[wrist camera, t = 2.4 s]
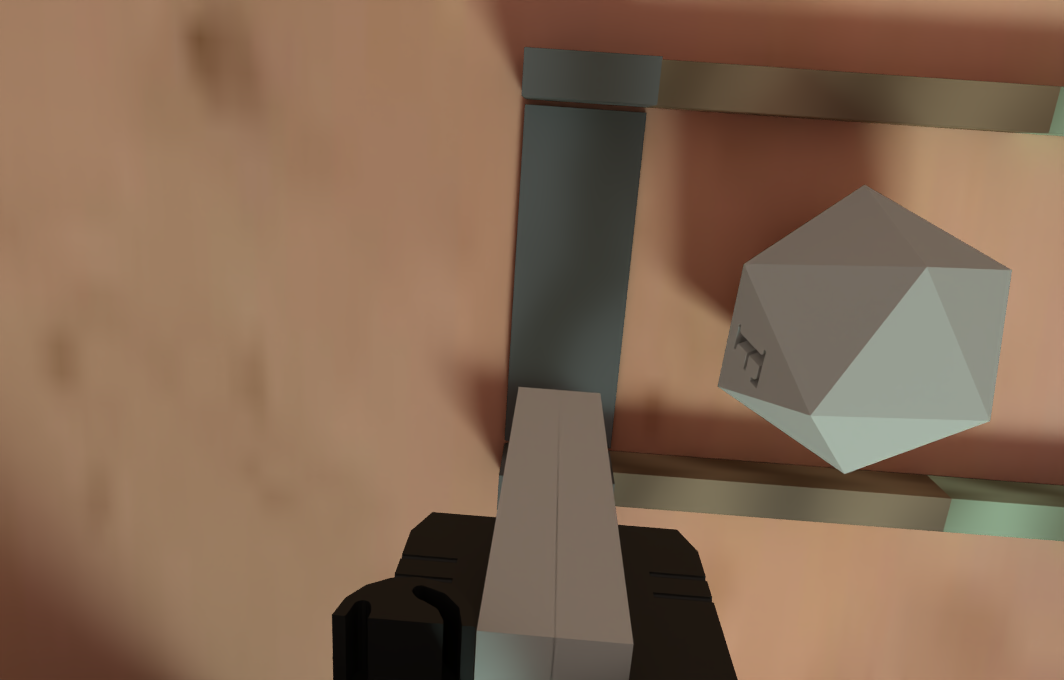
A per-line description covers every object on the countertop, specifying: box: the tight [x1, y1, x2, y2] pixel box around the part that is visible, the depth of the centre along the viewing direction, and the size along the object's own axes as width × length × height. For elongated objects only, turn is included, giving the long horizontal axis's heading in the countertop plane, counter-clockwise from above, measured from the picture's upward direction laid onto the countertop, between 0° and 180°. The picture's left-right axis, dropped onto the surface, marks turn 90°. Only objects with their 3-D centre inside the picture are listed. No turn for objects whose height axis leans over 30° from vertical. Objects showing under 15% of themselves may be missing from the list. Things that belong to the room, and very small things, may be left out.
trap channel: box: [497, 47, 1064, 541], centre depth 27 cm, size 38×17×3 cm, turn 86°
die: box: [718, 185, 1012, 474], centre depth 25 cm, size 8×9×10 cm
